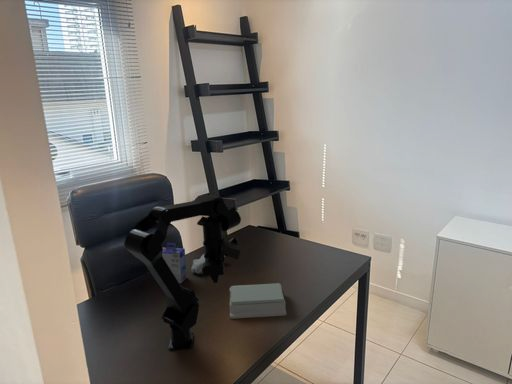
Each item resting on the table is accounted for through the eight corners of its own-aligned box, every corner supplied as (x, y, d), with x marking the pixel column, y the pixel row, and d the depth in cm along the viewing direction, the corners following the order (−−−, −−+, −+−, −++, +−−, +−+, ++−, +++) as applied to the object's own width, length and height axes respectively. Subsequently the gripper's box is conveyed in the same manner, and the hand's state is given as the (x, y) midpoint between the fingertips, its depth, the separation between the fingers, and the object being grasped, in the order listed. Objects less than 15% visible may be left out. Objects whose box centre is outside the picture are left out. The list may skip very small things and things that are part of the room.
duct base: (286, 315, 119) (286, 305, 118) (230, 318, 118) (229, 309, 117) (280, 289, 135) (279, 280, 134) (230, 292, 134) (229, 283, 133)
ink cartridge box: (187, 276, 146) (185, 242, 142) (182, 283, 140) (179, 248, 137) (164, 274, 148) (160, 240, 144) (158, 281, 142) (154, 246, 139)
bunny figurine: (185, 263, 149) (209, 245, 160) (186, 274, 150) (210, 256, 162) (202, 268, 143) (226, 250, 155) (204, 280, 145) (228, 261, 157)
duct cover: (283, 301, 120) (283, 299, 120) (231, 304, 119) (231, 302, 119) (279, 285, 130) (279, 283, 130) (231, 288, 129) (230, 285, 129)
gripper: (240, 247, 104) (242, 296, 108) (238, 223, 122) (240, 267, 126) (200, 249, 104) (203, 298, 108) (204, 225, 121) (207, 268, 126)
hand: (215, 282), depth 117 cm, fingers closed
